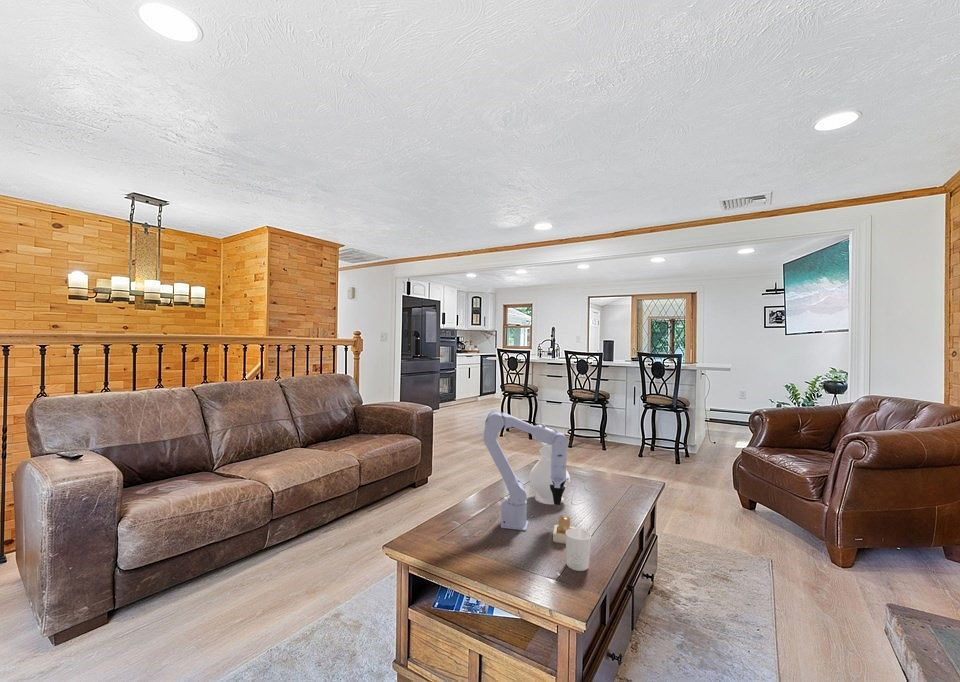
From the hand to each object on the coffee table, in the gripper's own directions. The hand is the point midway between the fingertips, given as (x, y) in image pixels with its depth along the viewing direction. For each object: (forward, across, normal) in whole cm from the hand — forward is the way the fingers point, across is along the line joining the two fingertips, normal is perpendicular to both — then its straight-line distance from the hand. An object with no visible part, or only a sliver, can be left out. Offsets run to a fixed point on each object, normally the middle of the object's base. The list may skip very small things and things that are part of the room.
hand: (557, 500), depth 162 cm
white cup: (+10, -26, -8) cm, 29 cm away
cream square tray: (+10, -9, -3) cm, 14 cm away
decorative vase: (+10, +28, +5) cm, 30 cm away
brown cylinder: (+10, -9, -3) cm, 13 cm away
